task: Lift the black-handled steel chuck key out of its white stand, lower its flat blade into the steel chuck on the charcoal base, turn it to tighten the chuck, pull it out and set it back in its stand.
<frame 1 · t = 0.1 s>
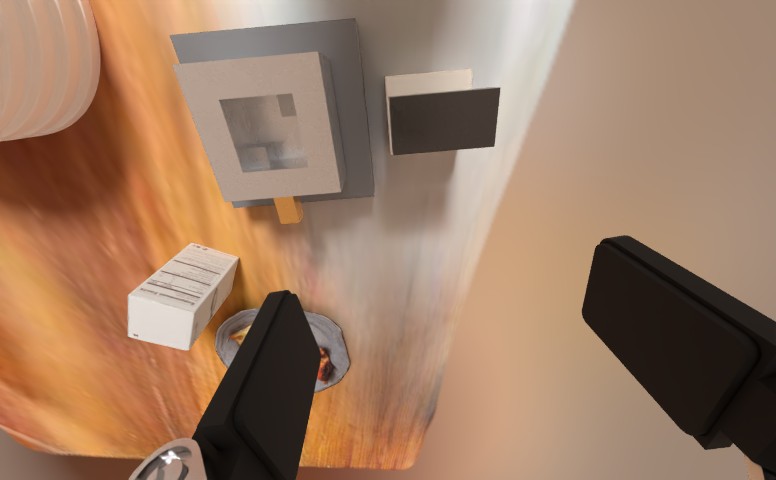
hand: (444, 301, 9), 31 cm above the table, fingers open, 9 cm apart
grey flat slab: (295, 122, 35), on the table
key stand: (423, 111, 34), on the table
chuck key: (424, 112, 34), point 1 cm above the table, touching key stand
food plate: (288, 346, 55), on the table
supplement box: (214, 266, 45), on the table
chuck: (280, 146, 29), point 7 cm above the table, hinge at 0.0°
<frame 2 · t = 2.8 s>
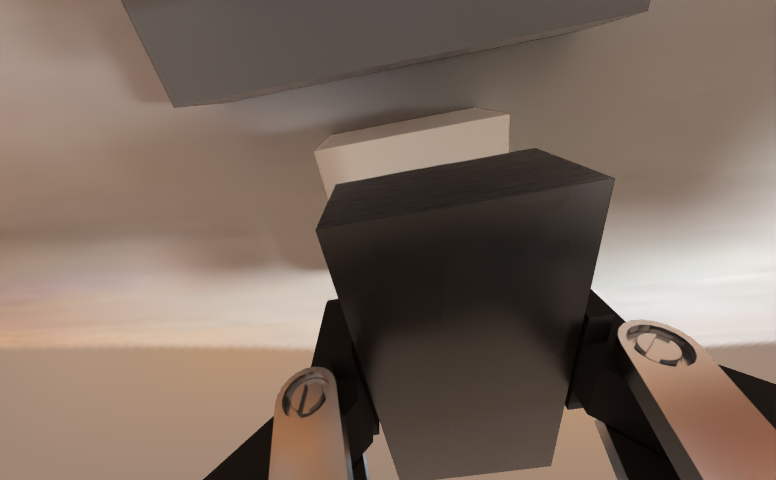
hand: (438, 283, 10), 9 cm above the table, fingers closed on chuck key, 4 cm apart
key stand: (412, 198, 17), on the table
chuck key: (414, 204, 16), point 1 cm above the table, touching gripper, key stand
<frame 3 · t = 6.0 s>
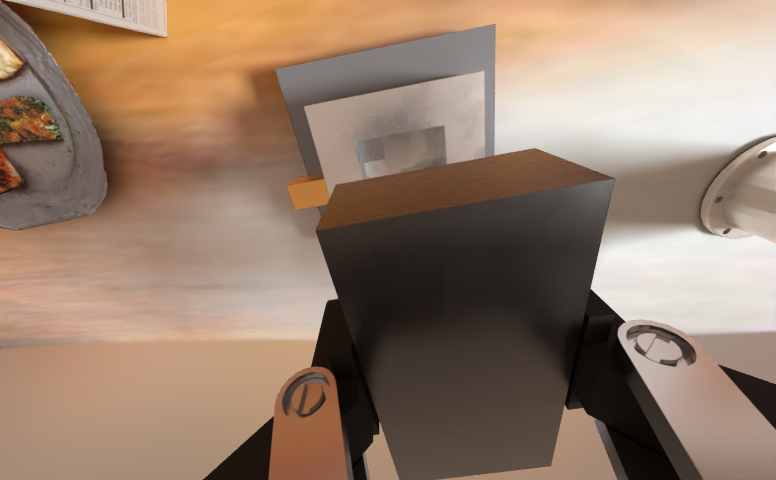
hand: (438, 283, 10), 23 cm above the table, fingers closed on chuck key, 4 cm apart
grey flat slab: (397, 151, 30), on the table
chuck key: (414, 204, 16), point 16 cm above the table, touching gripper
chuck: (385, 171, 24), point 7 cm above the table, hinge at 0.0°
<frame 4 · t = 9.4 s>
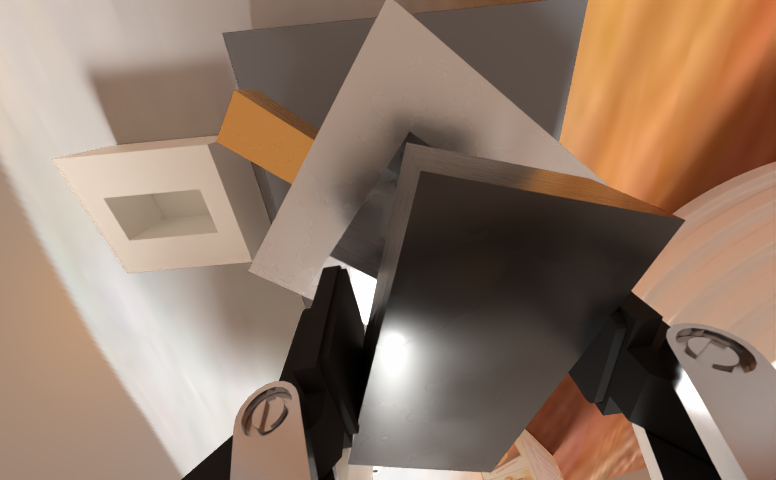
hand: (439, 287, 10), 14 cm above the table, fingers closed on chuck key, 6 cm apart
grey flat slab: (406, 173, 21), on the table
coffeecake box: (512, 443, 42), on the table
plate stack: (729, 289, 29), on the table
key stand: (201, 192, 22), on the table
chuck key: (413, 201, 16), point 6 cm above the table, touching chuck, gripper
chuck: (395, 196, 15), point 7 cm above the table, hinge at 51.8°, touching chuck key
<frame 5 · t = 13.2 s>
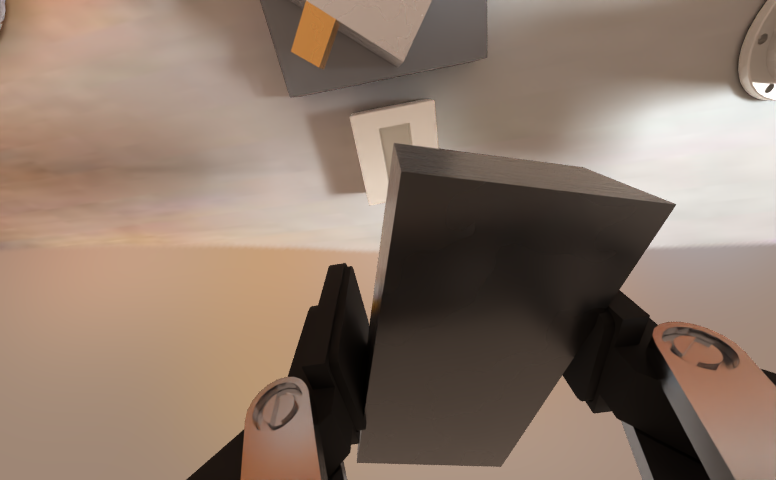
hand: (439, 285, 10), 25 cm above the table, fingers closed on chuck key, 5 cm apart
key stand: (396, 148, 32), on the table
chuck key: (414, 199, 17), point 17 cm above the table, touching gripper
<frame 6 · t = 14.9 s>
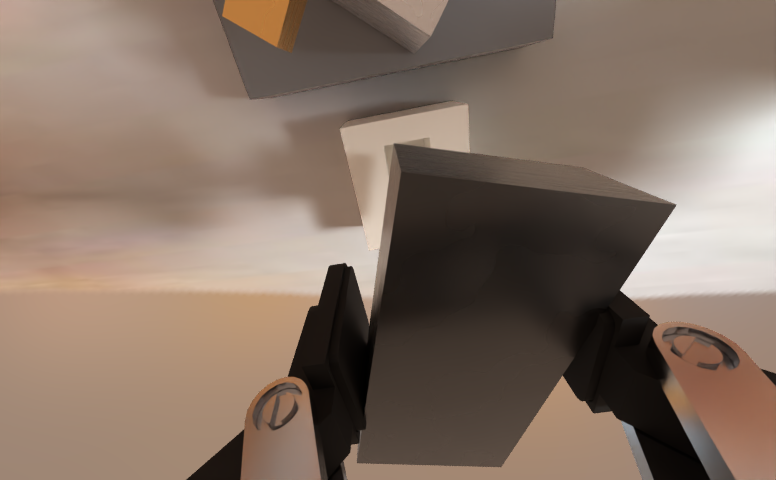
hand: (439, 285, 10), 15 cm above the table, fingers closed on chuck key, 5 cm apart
key stand: (407, 169, 23), on the table
chuck key: (414, 199, 17), point 8 cm above the table, touching gripper
when the fingers open (10 cm above the table, at t = 16.4 s): chuck key drops 1 cm, resting on key stand.
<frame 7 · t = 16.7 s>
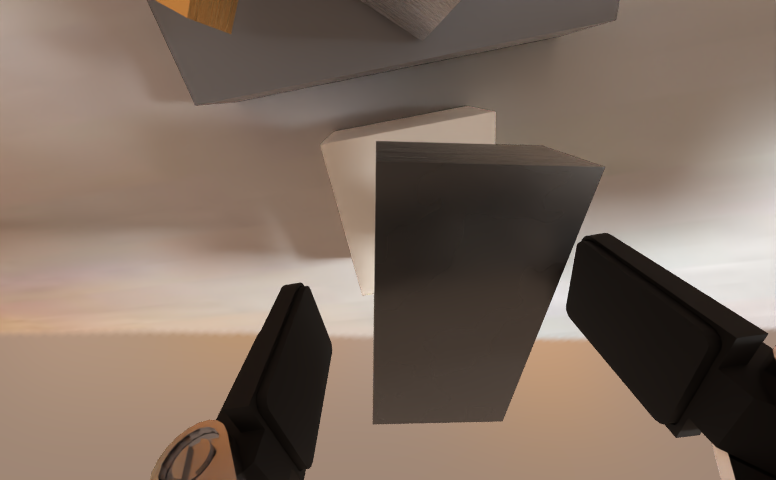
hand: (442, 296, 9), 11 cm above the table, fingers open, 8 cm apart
key stand: (409, 190, 19), on the table
chuck key: (411, 192, 18), point 1 cm above the table, touching key stand
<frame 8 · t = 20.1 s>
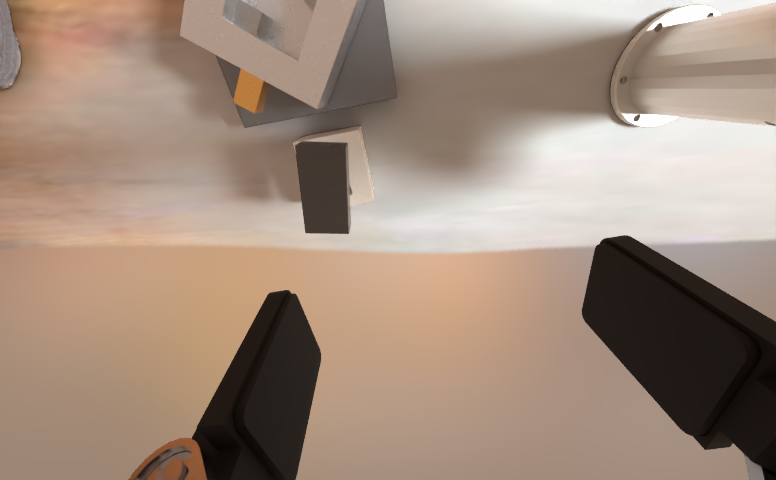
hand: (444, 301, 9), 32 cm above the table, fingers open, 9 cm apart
grey flat slab: (303, 23, 31), on the table
key stand: (339, 165, 39), on the table
chuck key: (338, 165, 38), point 1 cm above the table, touching key stand
chuck: (278, 25, 25), point 7 cm above the table, hinge at 52.5°
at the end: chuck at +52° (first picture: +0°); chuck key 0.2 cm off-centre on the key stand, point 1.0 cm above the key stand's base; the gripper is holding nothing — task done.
